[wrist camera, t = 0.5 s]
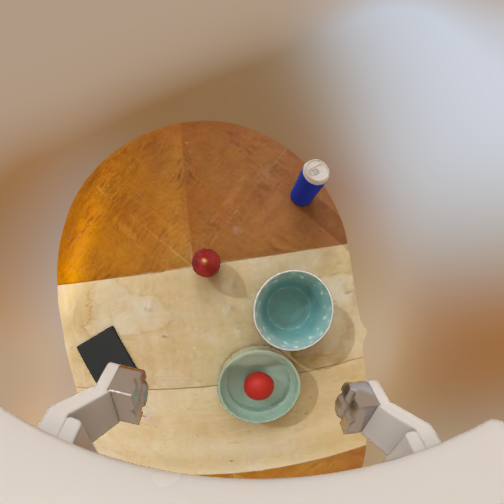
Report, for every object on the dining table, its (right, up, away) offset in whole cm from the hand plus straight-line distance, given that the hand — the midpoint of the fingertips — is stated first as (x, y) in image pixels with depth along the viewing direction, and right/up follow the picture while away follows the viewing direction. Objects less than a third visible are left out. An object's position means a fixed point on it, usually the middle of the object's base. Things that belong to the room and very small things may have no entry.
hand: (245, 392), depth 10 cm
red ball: (+2, -23, +46) cm, 51 cm away
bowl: (+8, -7, +49) cm, 50 cm away
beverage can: (+12, +18, +53) cm, 57 cm away
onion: (-9, +3, +50) cm, 51 cm away
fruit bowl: (+2, -23, +47) cm, 52 cm away
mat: (-34, -22, +45) cm, 61 cm away
